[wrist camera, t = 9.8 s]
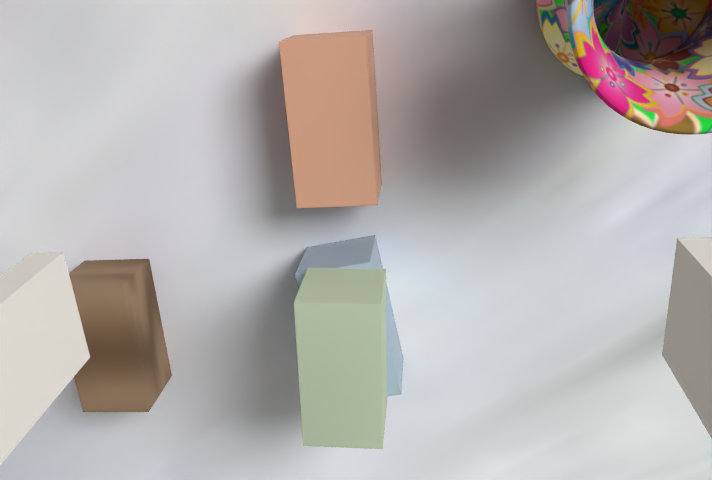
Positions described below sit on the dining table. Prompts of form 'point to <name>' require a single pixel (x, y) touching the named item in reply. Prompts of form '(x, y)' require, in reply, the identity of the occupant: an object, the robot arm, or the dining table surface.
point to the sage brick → (342, 357)
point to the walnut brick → (120, 336)
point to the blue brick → (363, 257)
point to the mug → (639, 56)
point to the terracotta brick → (332, 118)
